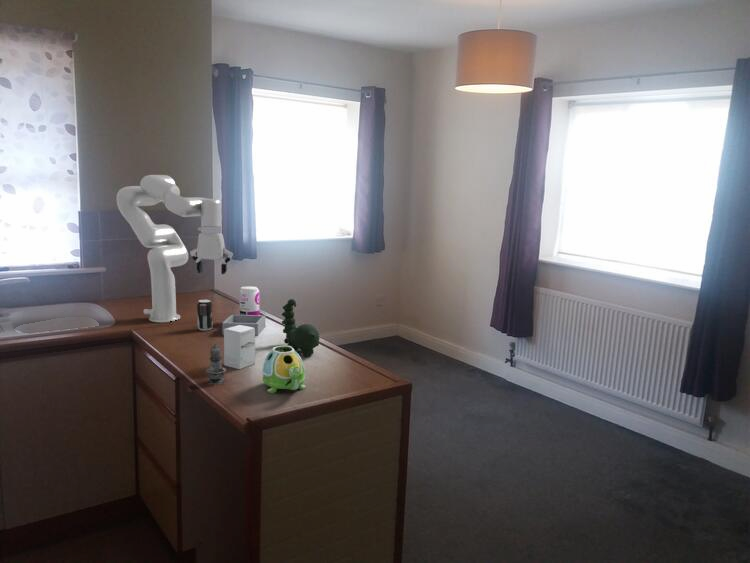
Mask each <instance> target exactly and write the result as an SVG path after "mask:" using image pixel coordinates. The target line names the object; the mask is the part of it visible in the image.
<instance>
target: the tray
mask: <svg viewBox="0 0 750 563" xmlns="http://www.w3.org/2000/svg"><path fill="white" fill-rule="evenodd" d="M266 324H267V323H266V315H261V314H259V315H240V314H231V315H229V316H228V317H227V318H226V319H225V320H223V322H222V323H221V327H222V328H221V330H222V335H223V336H224V329H226V328H230V327H234V326H237V325H243V326H248V327H253V328H255V337H258V336H260V334H261V333H262V332H263V330H264V329H265V328H266V327H267V326H266Z"/></svg>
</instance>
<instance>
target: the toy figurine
mask: <svg viewBox="0 0 750 563" xmlns="http://www.w3.org/2000/svg"><path fill="white" fill-rule="evenodd" d="M296 307H297V301H296V300H295V299H294V298H290V299H289V300H287V302H286V303H285V305H283V306H282V309H283V310H284V311H283V312H282V313H281V316H282V317H284V320H282V321H281V324H282V325H284V328H283V329H282V333H283V334H285V338H284V340H283V342H284V344H286V346H291V347H292V348H293V349H294V351H296V352H297V351H298V350H300V351H301V354H302V356H304V357H310V356H313V354H314V349H315V348H316V347H319V345H320V339H321V338H320V333H319V331H318V329H317V328H316V327H315V326H314V325H312V324H309V323H303V324H300V325H298V326H297V325H296V319H295V311H294V308H296Z"/></svg>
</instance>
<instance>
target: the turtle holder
mask: <svg viewBox="0 0 750 563" xmlns="http://www.w3.org/2000/svg"><path fill="white" fill-rule="evenodd" d="M278 350H282V351H281V352H280V351H278ZM305 370H306V369H305V366H304V362H303V360H302V357H301V356H300V355H299V353H298V352H297V350H296V351H294V349H293V348H292V347H291V346H287V345H278V346H274V347H272V349H271V350H270V351H269V352H268V353H267V355H266V357H265V359H264V362H263V366H262V375H263V376H262V381H263V383H264V384H265V385H266V386H268V387H270V388H268V389H267V392H268V393H269V394H273V395H274V394H276V393H277V390H290V391H296V390H304V389H305V388H306V385H305V384H303V383H304V382H305V379H306V377H305Z"/></svg>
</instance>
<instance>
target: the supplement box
mask: <svg viewBox="0 0 750 563" xmlns="http://www.w3.org/2000/svg"><path fill="white" fill-rule="evenodd" d="M223 352H224V354H223V356H224V357H223V359H224V361H223V362H224V364H223V365H224V366H225V367H230V368H233V369H237V370H241V369H244V368H247V367H249V366H253V365H255V364H256V336H255V328H253V327H248V326H243V325H237V326H234V327H230V328H226V329H224V335H223Z"/></svg>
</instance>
